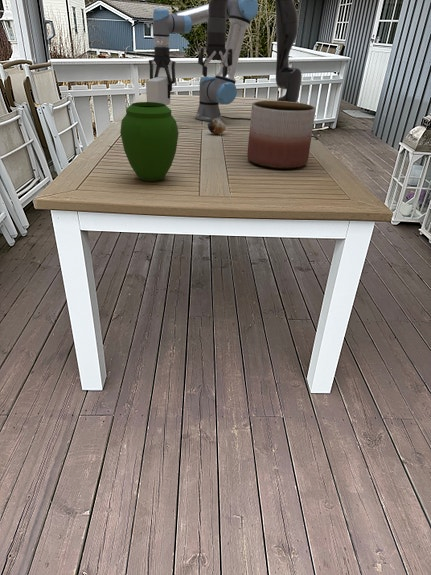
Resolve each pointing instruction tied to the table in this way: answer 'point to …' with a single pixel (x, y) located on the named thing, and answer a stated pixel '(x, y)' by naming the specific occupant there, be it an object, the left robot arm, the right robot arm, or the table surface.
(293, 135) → the planter
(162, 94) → the box
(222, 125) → the seashell
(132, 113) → the vase
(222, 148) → the table surface
